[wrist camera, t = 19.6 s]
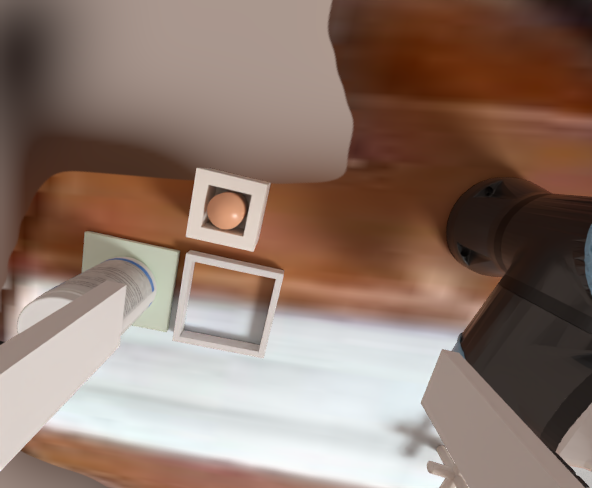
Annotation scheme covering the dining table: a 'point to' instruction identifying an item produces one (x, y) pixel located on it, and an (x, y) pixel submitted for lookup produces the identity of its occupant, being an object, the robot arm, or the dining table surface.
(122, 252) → the mat
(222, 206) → the button
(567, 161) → the dining table surface
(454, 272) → the dining table surface
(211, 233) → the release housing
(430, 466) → the pipe connector
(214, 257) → the frame
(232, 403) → the dining table surface
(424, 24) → the dining table surface
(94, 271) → the supplement tub
